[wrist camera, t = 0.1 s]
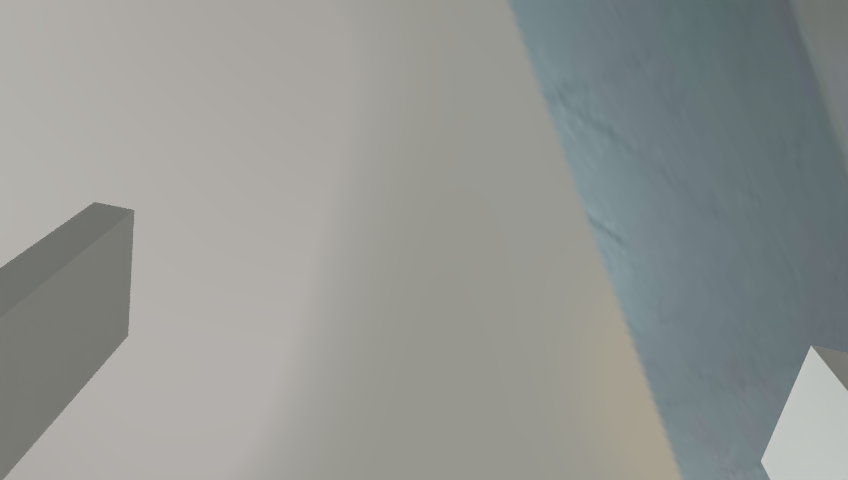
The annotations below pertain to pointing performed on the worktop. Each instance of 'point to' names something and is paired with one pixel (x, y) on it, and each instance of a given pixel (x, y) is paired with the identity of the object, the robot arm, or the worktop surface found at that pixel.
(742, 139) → the worktop surface
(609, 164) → the worktop surface
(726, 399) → the worktop surface
